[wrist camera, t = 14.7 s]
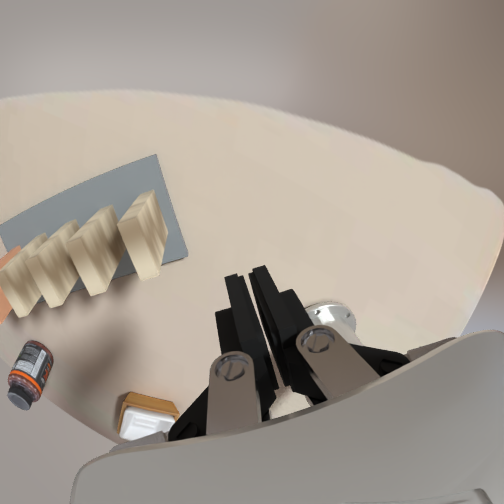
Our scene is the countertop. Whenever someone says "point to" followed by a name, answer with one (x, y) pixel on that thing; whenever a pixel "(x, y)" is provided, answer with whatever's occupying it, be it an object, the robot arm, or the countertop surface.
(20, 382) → the supplement bottle
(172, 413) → the soap dish
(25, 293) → the domino
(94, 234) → the domino
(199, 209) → the countertop surface
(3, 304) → the domino
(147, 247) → the domino
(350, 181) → the countertop surface
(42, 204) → the runway mat
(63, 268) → the domino
